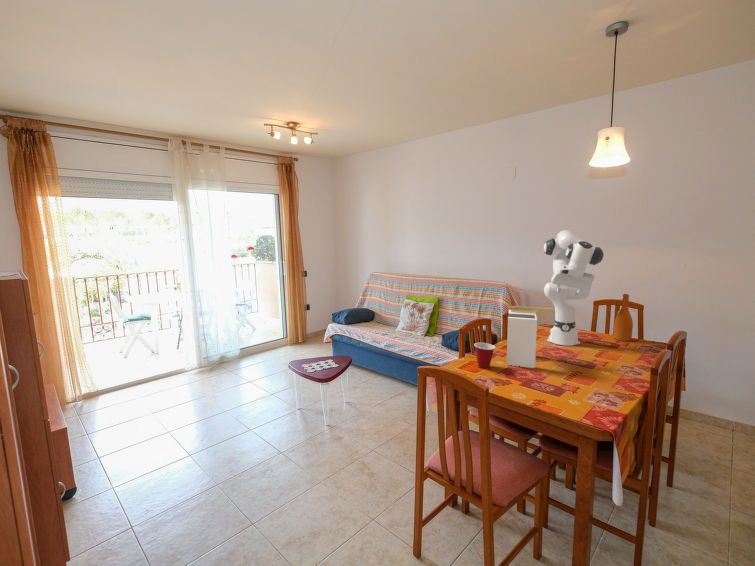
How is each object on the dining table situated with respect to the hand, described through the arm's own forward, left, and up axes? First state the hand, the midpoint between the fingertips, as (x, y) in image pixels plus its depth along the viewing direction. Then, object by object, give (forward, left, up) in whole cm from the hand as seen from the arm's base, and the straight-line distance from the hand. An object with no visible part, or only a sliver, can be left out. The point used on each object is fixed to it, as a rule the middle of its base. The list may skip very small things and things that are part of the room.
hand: (567, 293), depth 202 cm
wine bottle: (-41, +39, -36) cm, 67 cm away
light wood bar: (+13, -18, -10) cm, 24 cm away
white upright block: (+18, -23, -36) cm, 46 cm away
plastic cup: (+35, -41, -36) cm, 65 cm away
